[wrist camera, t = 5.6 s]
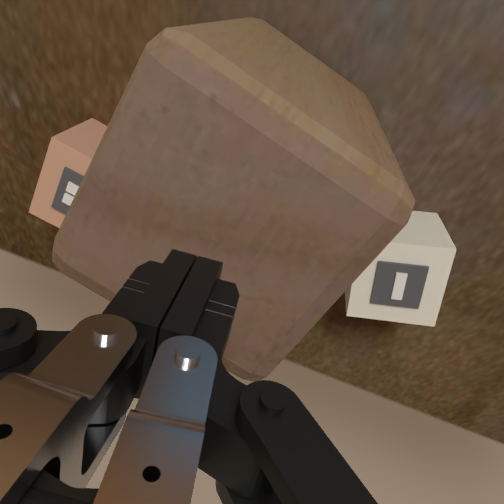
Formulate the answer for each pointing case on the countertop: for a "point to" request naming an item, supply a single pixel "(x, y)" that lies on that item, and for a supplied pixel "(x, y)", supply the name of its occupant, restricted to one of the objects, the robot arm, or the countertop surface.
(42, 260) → the countertop surface
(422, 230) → the cream cube
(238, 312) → the wooden block
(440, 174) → the countertop surface
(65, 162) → the pink cube
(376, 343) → the countertop surface
